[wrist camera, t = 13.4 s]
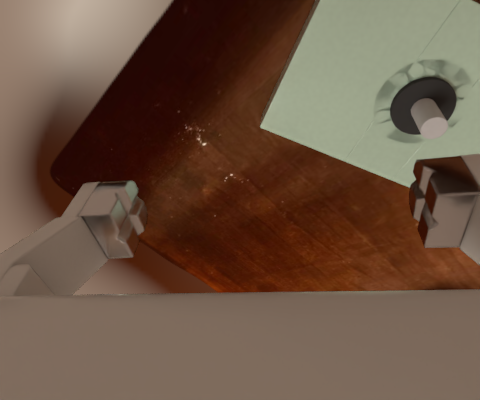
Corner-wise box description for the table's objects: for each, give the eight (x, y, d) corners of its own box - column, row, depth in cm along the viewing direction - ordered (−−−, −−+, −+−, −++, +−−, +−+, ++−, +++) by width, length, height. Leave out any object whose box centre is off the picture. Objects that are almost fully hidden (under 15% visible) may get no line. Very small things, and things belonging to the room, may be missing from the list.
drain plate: (261, 115, 37) (259, 127, 35) (345, -66, 26) (349, -62, 25) (458, 195, 40) (466, 210, 38) (601, 63, 30) (621, 75, 28)
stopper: (374, 108, 34) (385, 142, 30) (410, 58, 31) (428, 87, 26) (420, 129, 35) (438, 164, 31) (460, 81, 32) (487, 113, 27)
